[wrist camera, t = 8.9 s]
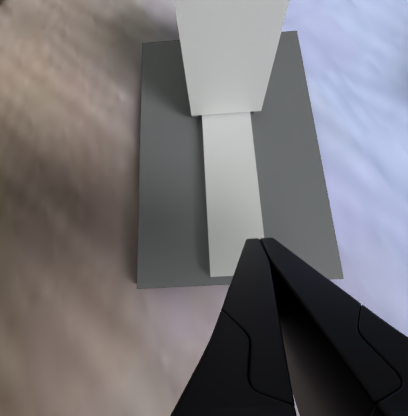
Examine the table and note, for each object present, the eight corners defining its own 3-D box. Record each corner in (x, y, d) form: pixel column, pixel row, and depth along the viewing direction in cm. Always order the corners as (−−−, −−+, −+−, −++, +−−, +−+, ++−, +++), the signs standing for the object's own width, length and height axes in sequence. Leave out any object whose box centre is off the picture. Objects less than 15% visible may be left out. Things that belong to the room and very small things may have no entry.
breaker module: (259, 115, 19) (318, -114, 8) (192, 120, 19) (158, -98, 8) (252, 53, 21) (292, -210, 10) (189, 58, 21) (159, -195, 10)
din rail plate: (335, 279, 17) (373, 277, 13) (142, 288, 18) (118, 290, 14) (292, 43, 23) (309, -11, 19) (146, 54, 23) (130, 4, 19)
